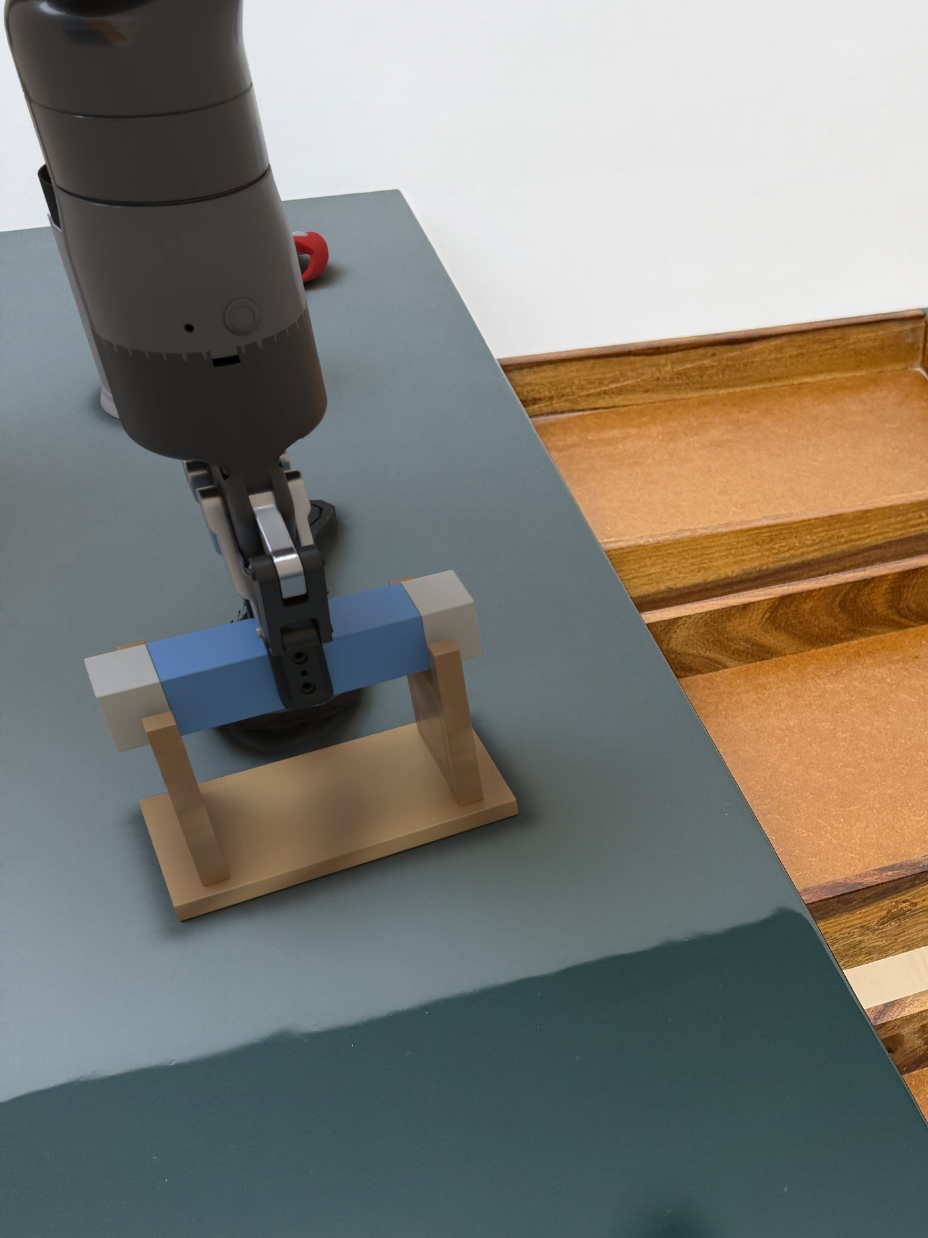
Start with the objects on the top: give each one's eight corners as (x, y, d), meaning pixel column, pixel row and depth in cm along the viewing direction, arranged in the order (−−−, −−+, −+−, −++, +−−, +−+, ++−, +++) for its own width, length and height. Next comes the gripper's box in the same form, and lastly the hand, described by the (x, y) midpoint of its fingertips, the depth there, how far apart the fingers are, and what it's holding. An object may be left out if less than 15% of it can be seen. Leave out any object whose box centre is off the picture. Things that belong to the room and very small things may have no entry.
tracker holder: (225, 231, 117) (335, 212, 115) (245, 287, 119) (352, 269, 117) (144, 250, 107) (263, 229, 105) (167, 311, 109) (283, 292, 107)
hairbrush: (376, 467, 88) (339, 695, 69) (386, 521, 90) (353, 755, 71) (236, 472, 86) (160, 707, 68) (250, 527, 89) (180, 767, 70)
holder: (179, 922, 63) (112, 751, 56) (143, 815, 68) (77, 646, 61) (518, 814, 70) (495, 649, 63) (464, 723, 74) (436, 561, 68)
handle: (117, 754, 59) (95, 697, 57) (104, 714, 61) (82, 658, 59) (483, 655, 66) (475, 601, 64) (461, 622, 68) (452, 568, 65)
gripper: (54, 245, 54) (176, 619, 66) (124, 400, 46) (250, 797, 57) (255, 219, 57) (337, 581, 69) (356, 360, 49) (430, 745, 60)
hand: (297, 678), depth 63 cm, fingers closed on handle, 3 cm apart
